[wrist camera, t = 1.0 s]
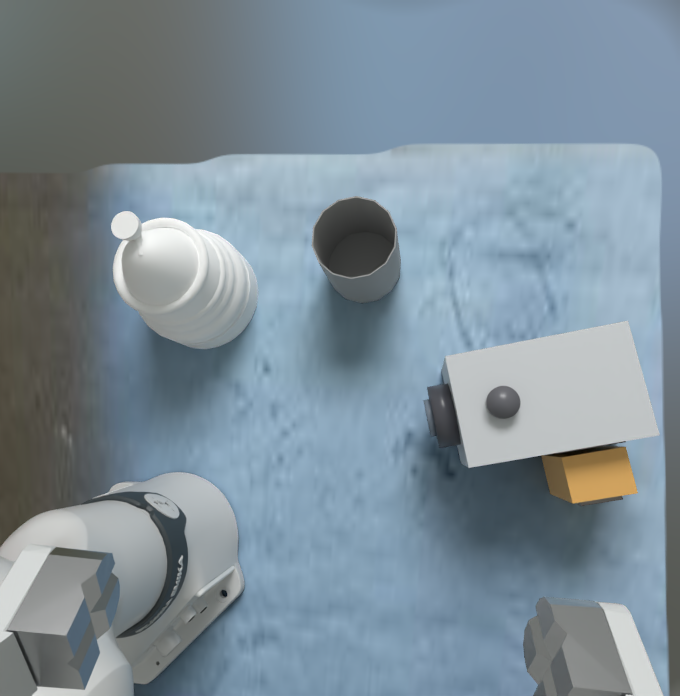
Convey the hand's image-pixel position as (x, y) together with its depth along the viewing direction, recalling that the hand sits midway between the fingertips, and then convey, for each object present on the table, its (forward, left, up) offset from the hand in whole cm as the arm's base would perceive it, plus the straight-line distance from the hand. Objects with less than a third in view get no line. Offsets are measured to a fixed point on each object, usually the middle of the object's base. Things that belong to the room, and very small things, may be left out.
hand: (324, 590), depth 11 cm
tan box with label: (+10, -14, -51) cm, 54 cm away
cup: (+16, +16, -51) cm, 56 cm away
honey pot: (+3, +30, -51) cm, 60 cm away
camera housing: (+12, -6, -51) cm, 53 cm away
